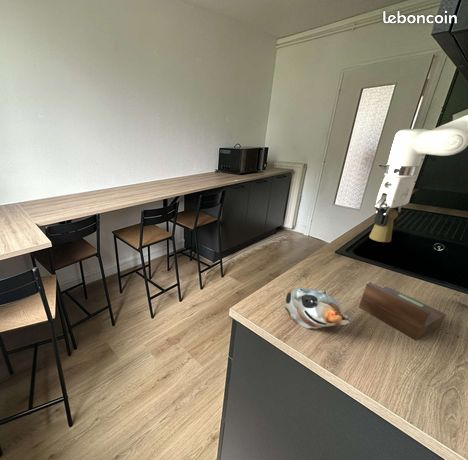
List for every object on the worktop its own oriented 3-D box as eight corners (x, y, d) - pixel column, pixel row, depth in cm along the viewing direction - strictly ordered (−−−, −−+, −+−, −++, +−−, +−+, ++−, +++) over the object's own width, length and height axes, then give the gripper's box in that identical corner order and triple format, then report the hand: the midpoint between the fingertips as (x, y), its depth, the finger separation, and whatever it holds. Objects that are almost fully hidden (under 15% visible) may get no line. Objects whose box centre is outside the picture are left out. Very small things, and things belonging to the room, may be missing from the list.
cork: (368, 233, 93) (376, 205, 88) (389, 236, 90) (398, 207, 85) (370, 240, 88) (378, 210, 84) (392, 243, 85) (402, 212, 81)
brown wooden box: (382, 296, 81) (391, 272, 77) (440, 325, 69) (454, 299, 65) (358, 307, 77) (366, 282, 73) (415, 340, 65) (428, 313, 61)
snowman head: (342, 315, 74) (368, 296, 63) (325, 348, 69) (349, 334, 58) (293, 284, 81) (308, 263, 70) (274, 313, 76) (287, 294, 65)
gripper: (398, 175, 74) (381, 232, 81) (431, 169, 79) (412, 222, 86) (370, 172, 80) (356, 224, 87) (402, 166, 86) (387, 216, 93)
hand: (384, 223), depth 87 cm, fingers closed on cork, 5 cm apart
